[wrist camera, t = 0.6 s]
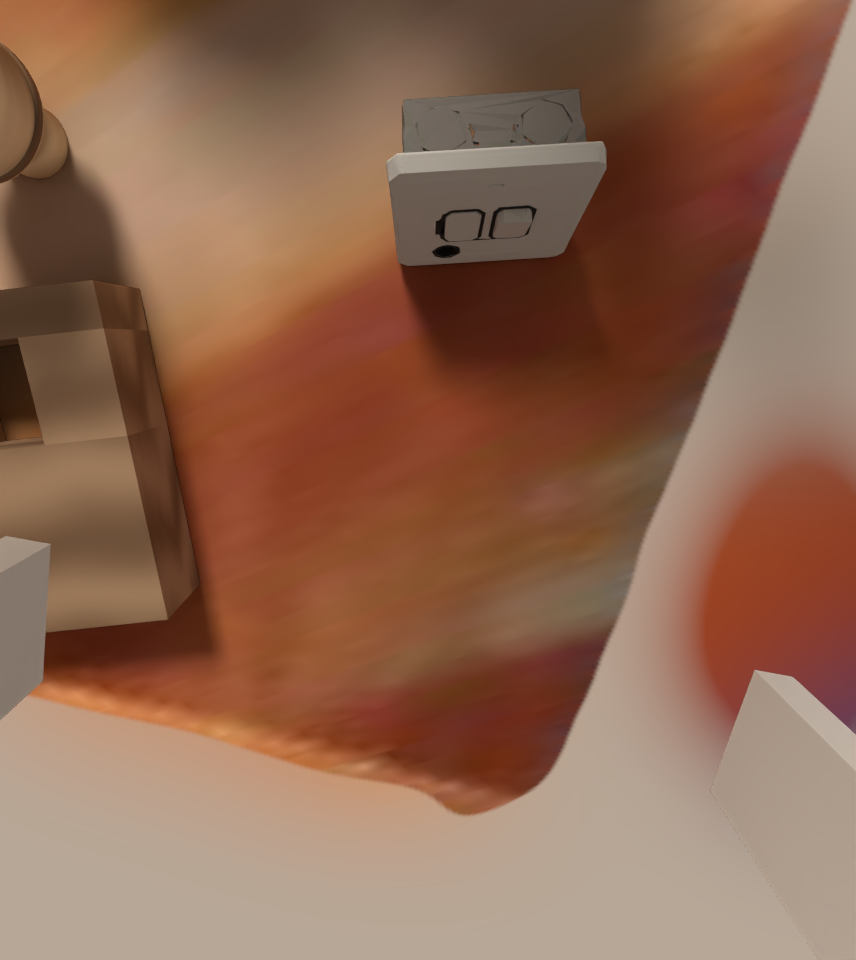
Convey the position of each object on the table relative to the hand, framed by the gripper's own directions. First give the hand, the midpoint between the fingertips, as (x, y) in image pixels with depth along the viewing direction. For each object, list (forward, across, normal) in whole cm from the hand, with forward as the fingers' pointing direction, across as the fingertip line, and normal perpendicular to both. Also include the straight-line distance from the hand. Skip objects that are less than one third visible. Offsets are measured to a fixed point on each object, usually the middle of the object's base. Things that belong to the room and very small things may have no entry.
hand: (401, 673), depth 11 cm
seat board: (+26, -21, -5) cm, 34 cm away
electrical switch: (+26, +1, +13) cm, 29 cm away
